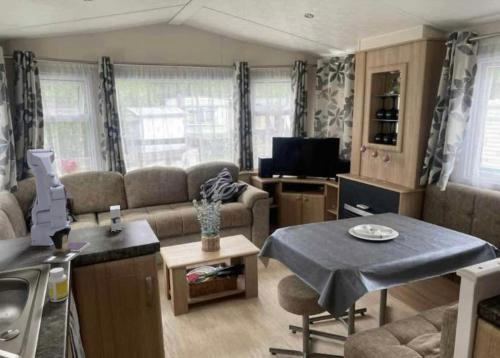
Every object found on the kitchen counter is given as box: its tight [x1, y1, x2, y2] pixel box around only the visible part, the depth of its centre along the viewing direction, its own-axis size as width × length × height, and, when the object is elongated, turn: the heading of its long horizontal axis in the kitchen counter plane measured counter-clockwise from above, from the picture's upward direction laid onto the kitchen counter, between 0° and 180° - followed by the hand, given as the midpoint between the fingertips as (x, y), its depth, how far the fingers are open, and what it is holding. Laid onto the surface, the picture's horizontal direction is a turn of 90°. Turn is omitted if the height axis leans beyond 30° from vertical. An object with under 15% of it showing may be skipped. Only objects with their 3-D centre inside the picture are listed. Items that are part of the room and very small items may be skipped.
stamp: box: [52, 235, 71, 257], centre depth 153 cm, size 5×5×8 cm
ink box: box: [109, 204, 122, 232], centre depth 192 cm, size 8×5×12 cm, turn 21°
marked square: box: [43, 252, 81, 263], centre depth 154 cm, size 10×10×1 cm
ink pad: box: [67, 241, 91, 254], centre depth 165 cm, size 10×10×1 cm
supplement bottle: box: [47, 267, 69, 303], centre depth 119 cm, size 5×5×10 cm
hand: (61, 246), depth 153 cm, fingers closed on stamp, 3 cm apart
